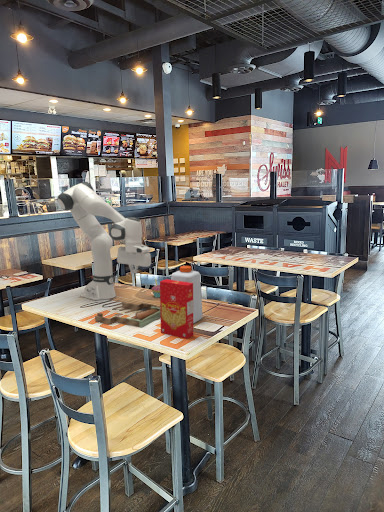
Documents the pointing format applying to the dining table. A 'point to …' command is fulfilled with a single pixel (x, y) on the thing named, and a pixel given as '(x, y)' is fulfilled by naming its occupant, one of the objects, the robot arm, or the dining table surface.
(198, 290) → the plastic bottle
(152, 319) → the trap lane
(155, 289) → the cupcake
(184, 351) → the dining table surface
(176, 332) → the food packaging
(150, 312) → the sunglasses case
